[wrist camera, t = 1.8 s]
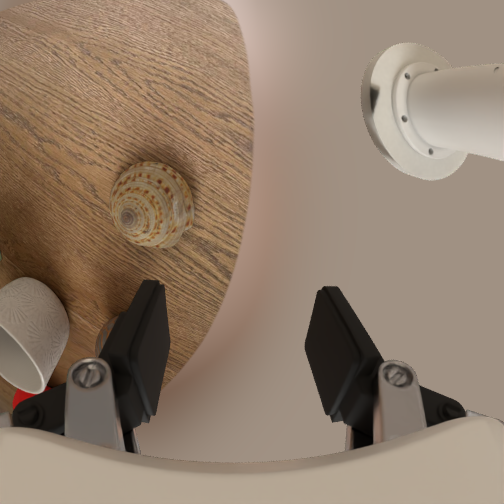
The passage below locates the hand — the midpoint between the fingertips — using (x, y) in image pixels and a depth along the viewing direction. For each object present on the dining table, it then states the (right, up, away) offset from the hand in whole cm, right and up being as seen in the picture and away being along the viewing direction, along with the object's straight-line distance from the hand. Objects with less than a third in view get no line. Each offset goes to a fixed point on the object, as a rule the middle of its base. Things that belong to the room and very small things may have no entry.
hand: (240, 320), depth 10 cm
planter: (-29, -5, +19) cm, 35 cm away
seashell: (-9, +7, +15) cm, 19 cm away
